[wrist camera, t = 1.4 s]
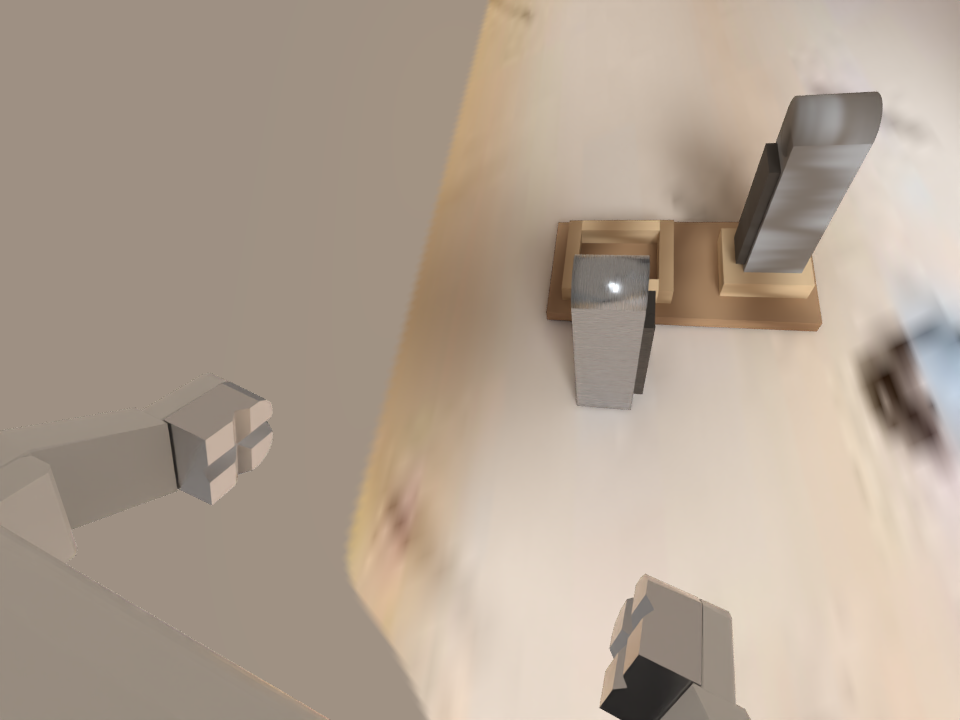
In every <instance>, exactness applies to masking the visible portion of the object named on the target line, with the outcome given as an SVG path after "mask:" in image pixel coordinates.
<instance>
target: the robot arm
mask: <svg viewBox="0 0 960 720" xmlns="http://www.w3.org/2000/svg"><path fill="white" fill-rule="evenodd" d="M272 415H273V414H272V403H271V402H269V401H268V400H266V399H264V398H262V397H260V396H258V395H256V394H254V393H252V392H250V391H248V390H246V389H244V388H242V387H240V386H238V385H236V384H234V383H231V382H229V381H227V380H225V379H223V378H221V377H219V376H217V375H215V374H213V373H208V374H202V375H200V376H199V377H197V378H195V379H193V380H192V381H190V382H188V383H187V384H185V385H183V386H182V387H180V388H178V389H176V390H175V391H173V392H171V393H170V394H168V395H166V396H165V397H163V398H161V399H159V400H158V401H156V402H154V403H153V404H151V405H149V406H148V407H146V408H144V409H143V410H140V409H137V408H129V409H124V410H118V411H112V412H106V413H100V414H95V415H89V416H83V417H77V418H71V419H66V420H59V421H54V422H48V423H42V424H36V425H30V426H25V427H19V428H13V429H7V430H1V431H0V720H330V719H328V718H326V717H325V716H323V715H321V714H320V713H318V712H316V711H314V710H313V709H311V708H310V707H308V706H306V705H305V704H303V703H301V702H299V701H298V700H296V699H294V698H293V697H291V696H289V695H288V694H286V693H284V692H283V691H281V690H279V689H277V688H276V687H274V686H272V685H271V684H269V683H267V682H266V681H264V680H262V679H261V678H259V677H257V676H255V675H254V674H252V673H250V672H248V671H247V670H245V669H244V668H242V667H240V666H239V665H237V664H235V663H233V662H232V661H230V660H228V659H227V658H225V657H223V656H222V655H220V654H218V653H216V652H214V651H213V650H211V649H210V648H208V647H206V646H205V645H203V644H201V643H200V642H198V641H196V640H195V639H193V638H191V637H189V636H188V635H186V634H184V633H183V632H181V631H179V630H177V629H176V628H174V627H172V626H171V625H169V624H167V623H166V622H164V621H162V620H160V619H159V618H157V617H156V616H154V615H152V614H150V613H149V612H147V611H145V610H144V609H142V608H140V607H139V606H137V605H135V604H133V603H132V602H130V601H128V600H127V599H125V598H123V597H122V596H120V595H118V594H116V593H115V592H113V591H111V590H110V589H108V588H106V587H105V586H103V585H101V584H100V583H98V582H96V581H94V580H93V579H91V578H89V577H88V576H86V575H84V574H82V573H81V572H79V571H77V570H76V569H74V568H72V567H71V566H69V565H67V564H66V563H67V562H68V561H70V560H71V559H72V558H73V557H75V556H76V553H77V549H78V548H77V545H76V542H75V539H74V536H73V533H72V529H75V528H78V527H81V526H83V525H86V524H89V523H91V522H94V521H97V520H100V519H102V518H105V517H108V516H111V515H113V514H116V513H119V512H122V511H124V510H127V509H130V508H132V507H135V506H138V505H141V504H143V503H146V502H149V501H152V500H155V499H157V498H160V497H163V496H166V495H168V494H171V493H174V492H177V489H179V490H181V491H183V492H185V493H188V494H190V495H192V496H194V497H196V498H198V499H200V500H202V501H204V502H206V503H208V504H210V505H213V504H214V503H215V502H216V501H217V500H219V499H220V498H221V497H222V496H223V495H225V494H226V493H227V492H228V491H229V490H230V489H232V488H233V487H234V486H235V485H236V484H237V478H238V474H242V473H245V472H249V471H252V470H253V469H254V468H256V467H257V466H258V465H259V464H260V463H261V462H262V461H263V459H264V458H265V456H266V454H267V453H268V451H269V450H270V447H271V443H272V440H273V431H272V429H271V427H270V425H269V424H268V422H267V420H268V419H269V418H270V417H271V416H272ZM610 651H611V653H612V656H613V658H614V659H613V661H612V662H611V664H610V665H609V667H608V668H607V670H606V671H605V677H604V683H603V689H602V695H601V701H600V707H599V708H601V709H602V710H604V711H606V712H608V713H610V714H611V715H613V716H615V717H617V718H619V719H620V720H751V719H750V717H749V715H748V713H747V711H746V710H745V709H744V708H742V707H740V706H738V705H737V704H736V691H735V671H734V650H733V630H732V617H731V615H730V613H729V612H728V611H726V610H724V609H722V608H719V607H717V606H715V605H713V604H711V603H708V602H706V601H704V600H702V599H699V598H698V597H696V596H694V595H691V594H689V593H687V592H685V591H682V590H680V589H678V588H676V587H673V586H671V585H669V584H667V583H665V582H662V581H660V580H658V579H656V578H653V577H651V576H649V575H647V574H645V575H643V576H642V577H641V578H640V580H639V581H638V583H637V584H636V587H635V594H634V598H630V599H627V600H626V601H625V603H624V605H623V607H622V608H621V610H620V612H619V615H618V617H617V620H616V622H615V625H614V629H613V633H612V637H611V643H610Z"/></svg>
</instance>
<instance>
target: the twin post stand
mask: <svg viewBox="0 0 960 720" xmlns="http://www.w3.org/2000/svg"><path fill="white" fill-rule="evenodd" d="M881 117H882V98H881V95H880V94H879V93H878V92H860V93H842V94H823V95H805V96H795V97H794V98H793V99H792V101H791V103H790V105H789V107H788V110H787V113H786V116H785V118H784V121H783V124H782V127H781V130H780V132H779V135H778V138H777V141H776V143H767V144H766V145H765V148H764V151H763V154H762V157H761V160H760V162H759V165H758V168H757V171H756V174H755V177H754V180H753V183H752V186H751V189H750V192H749V195H748V198H747V201H746V204H745V207H744V210H743V212H742V215H741V218H740V221H739V222H674V220H587V221H570V222H559V223H558V230H557V238H556V245H555V252H554V260H553V267H552V275H551V282H550V289H549V297H548V304H547V311H546V313H547V320H568V321H572V314H571V283H572V270H573V261H574V256H575V254H580V255H649V256H650V273H649V289H648V291H656V305H655V324H659V325H682V326H705V327H728V328H751V329H774V330H797V331H817V330H818V329H819V327H820V326H821V324H822V319H821V312H820V306H819V299H818V293H817V286H816V279H815V273H814V266H813V259H812V253H813V252H814V250H815V248H816V246H817V244H818V243H819V241H820V239H821V237H822V235H823V233H824V232H825V230H826V228H827V226H828V224H829V223H830V221H831V219H832V217H833V215H834V213H835V212H836V210H837V208H838V206H839V204H840V203H841V201H842V199H843V197H844V195H845V193H846V192H847V190H848V188H849V186H850V184H851V183H852V181H853V179H854V177H855V175H856V173H857V172H858V170H859V168H860V166H861V164H862V163H863V161H864V159H865V157H866V155H867V153H868V152H869V150H870V148H871V146H872V144H873V142H874V140H875V138H876V136H877V133H878V130H879V127H880V123H881Z"/></svg>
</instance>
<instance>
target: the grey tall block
mask: <svg viewBox="0 0 960 720" xmlns="http://www.w3.org/2000/svg"><path fill="white" fill-rule="evenodd" d="M649 273H650V256H649V255H580V254H575V256H574V261H573V270H572V283H571V314H572V330H573V346H574V363H575V379H576V395H577V405H578V406H590V407H602V408H614V409H626V410H631V404H632V398H633V393H634V394H642V393H643V388H644V383H645V378H646V372H647V367H648V362H649V357H650V352H651V346H652V341H653V336H654V331H655V305H656V291H648V289H649Z"/></svg>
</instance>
